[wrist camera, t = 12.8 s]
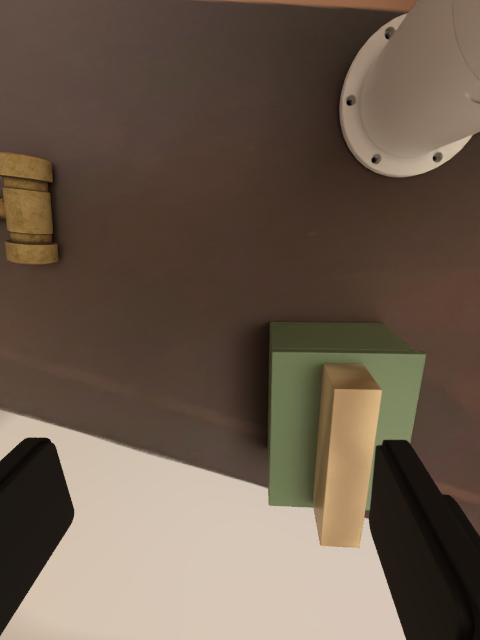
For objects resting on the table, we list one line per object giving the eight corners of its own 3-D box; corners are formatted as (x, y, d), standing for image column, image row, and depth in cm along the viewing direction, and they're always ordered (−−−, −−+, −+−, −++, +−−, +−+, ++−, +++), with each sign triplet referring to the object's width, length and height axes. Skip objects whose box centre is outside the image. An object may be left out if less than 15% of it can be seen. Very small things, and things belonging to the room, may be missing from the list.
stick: (363, 363, 27) (382, 390, 23) (347, 504, 32) (359, 548, 28) (323, 362, 28) (334, 389, 23) (312, 503, 33) (320, 546, 28)
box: (382, 322, 35) (414, 350, 28) (365, 452, 40) (388, 504, 33) (269, 321, 36) (271, 347, 29) (267, 448, 41) (268, 498, 34)
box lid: (421, 350, 28) (426, 354, 27) (394, 504, 33) (397, 511, 32) (271, 348, 29) (272, 351, 28) (268, 499, 34) (268, 505, 33)
